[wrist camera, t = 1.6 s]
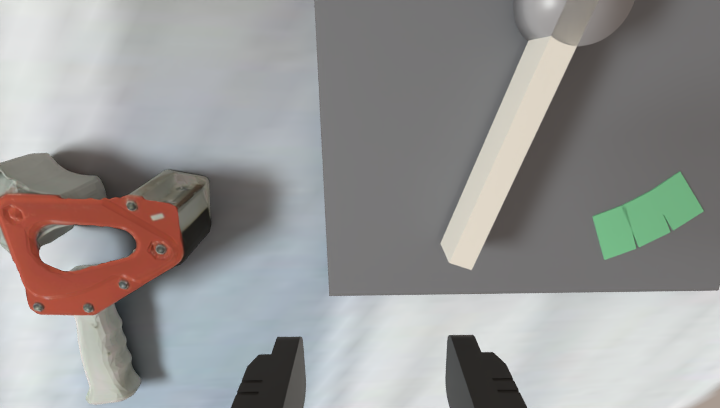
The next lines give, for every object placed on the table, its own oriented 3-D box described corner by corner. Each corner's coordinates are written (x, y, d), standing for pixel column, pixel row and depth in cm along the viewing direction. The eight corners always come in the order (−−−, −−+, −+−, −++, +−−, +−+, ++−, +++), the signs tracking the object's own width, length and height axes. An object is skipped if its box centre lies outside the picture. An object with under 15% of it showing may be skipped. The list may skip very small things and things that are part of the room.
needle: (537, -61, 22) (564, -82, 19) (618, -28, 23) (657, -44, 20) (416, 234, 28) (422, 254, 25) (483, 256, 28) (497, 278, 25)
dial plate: (315, -41, 24) (311, -49, 23) (789, -55, 24) (818, -63, 22) (331, 285, 31) (329, 296, 29) (701, 280, 30) (719, 291, 29)
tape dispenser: (131, 381, 36) (290, 256, 31) (94, 435, 31) (274, 297, 26) (-51, 248, 31) (99, 72, 26) (-129, 287, 27) (36, 80, 21)
